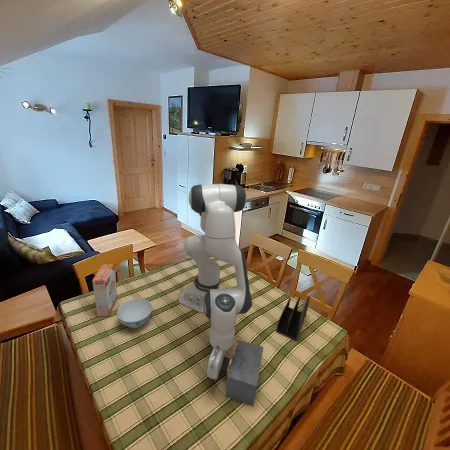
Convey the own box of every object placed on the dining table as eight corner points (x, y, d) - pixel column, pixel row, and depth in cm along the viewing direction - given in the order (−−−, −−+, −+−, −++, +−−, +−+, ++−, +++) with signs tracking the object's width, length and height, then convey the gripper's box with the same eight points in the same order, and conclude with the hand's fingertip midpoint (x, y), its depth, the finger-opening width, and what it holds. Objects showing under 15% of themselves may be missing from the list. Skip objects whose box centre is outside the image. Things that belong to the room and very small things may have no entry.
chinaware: (159, 323, 111) (158, 310, 108) (128, 341, 100) (126, 327, 98) (142, 306, 120) (141, 294, 117) (113, 321, 110) (111, 308, 107)
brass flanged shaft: (207, 374, 88) (208, 360, 85) (214, 358, 94) (215, 345, 92) (247, 388, 84) (249, 374, 82) (251, 370, 91) (253, 356, 88)
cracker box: (110, 316, 112) (105, 280, 105) (96, 317, 112) (91, 280, 104) (118, 297, 125) (114, 263, 118) (106, 297, 124) (101, 263, 117)
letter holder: (305, 315, 123) (311, 293, 118) (296, 342, 107) (302, 317, 102) (287, 308, 128) (291, 286, 122) (275, 332, 111) (280, 308, 106)
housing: (225, 396, 83) (227, 376, 79) (236, 357, 97) (238, 339, 93) (253, 406, 80) (256, 386, 77) (260, 365, 95) (263, 347, 91)
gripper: (221, 364, 74) (218, 393, 79) (237, 319, 93) (233, 345, 98) (203, 358, 76) (201, 387, 81) (221, 315, 94) (219, 340, 99)
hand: (219, 363), depth 89 cm, fingers closed on brass flanged shaft, 3 cm apart
